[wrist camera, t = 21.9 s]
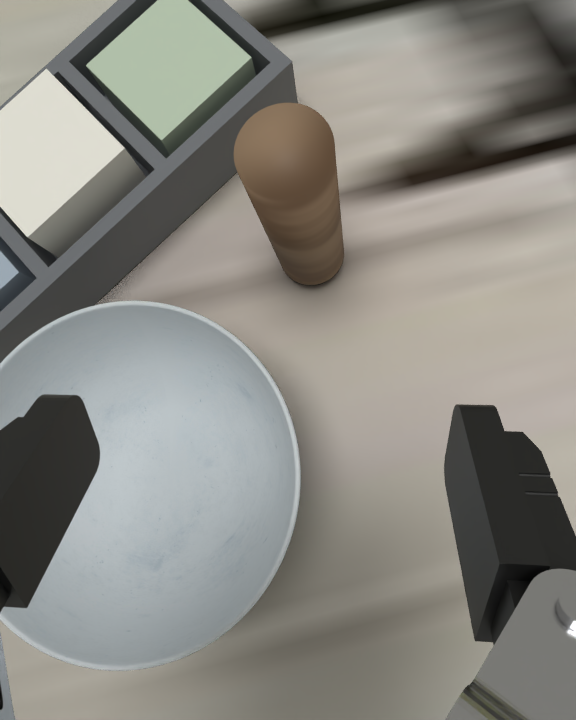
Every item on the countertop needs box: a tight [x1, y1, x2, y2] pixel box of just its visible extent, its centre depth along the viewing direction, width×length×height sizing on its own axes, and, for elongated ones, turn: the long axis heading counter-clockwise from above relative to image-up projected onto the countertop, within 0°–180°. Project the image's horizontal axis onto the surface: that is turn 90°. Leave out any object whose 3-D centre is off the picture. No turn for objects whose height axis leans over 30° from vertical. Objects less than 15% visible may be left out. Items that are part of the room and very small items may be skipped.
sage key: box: [86, 0, 256, 159], centre depth 30 cm, size 6×6×4 cm
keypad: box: [0, 0, 298, 363], centre depth 30 cm, size 10×26×4 cm, turn 133°
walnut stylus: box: [234, 103, 344, 285], centre depth 24 cm, size 4×4×12 cm
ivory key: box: [0, 69, 146, 258], centre depth 28 cm, size 6×6×4 cm
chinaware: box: [0, 301, 301, 671], centre depth 25 cm, size 15×15×8 cm
